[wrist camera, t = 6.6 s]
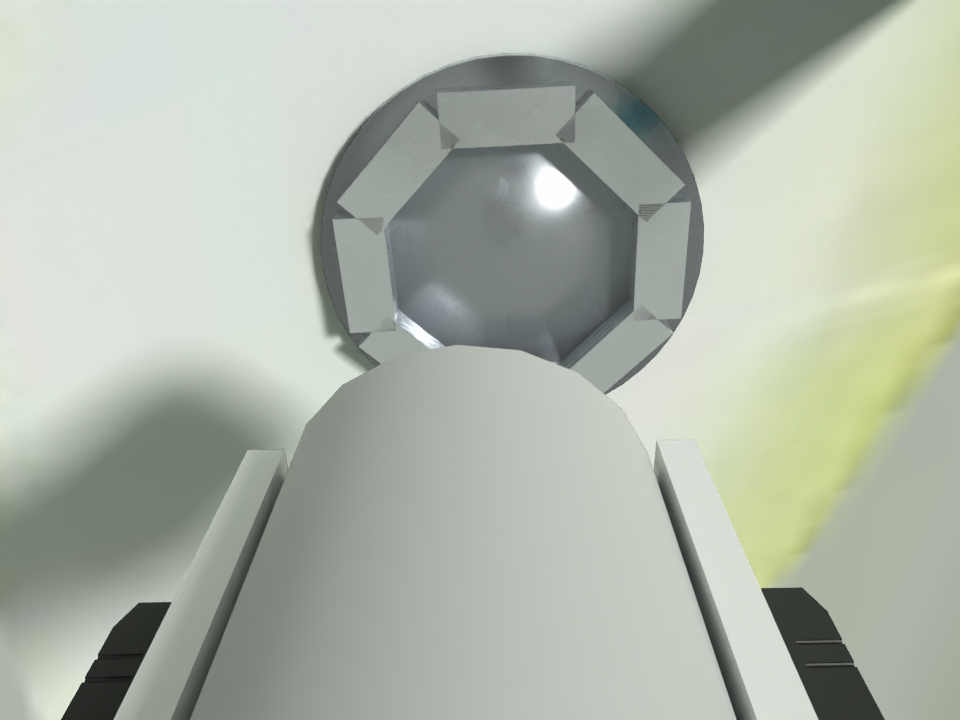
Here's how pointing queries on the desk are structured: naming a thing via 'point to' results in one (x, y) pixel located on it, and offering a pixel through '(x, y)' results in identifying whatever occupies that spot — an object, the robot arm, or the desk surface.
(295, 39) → the desk surface
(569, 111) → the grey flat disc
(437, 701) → the can
